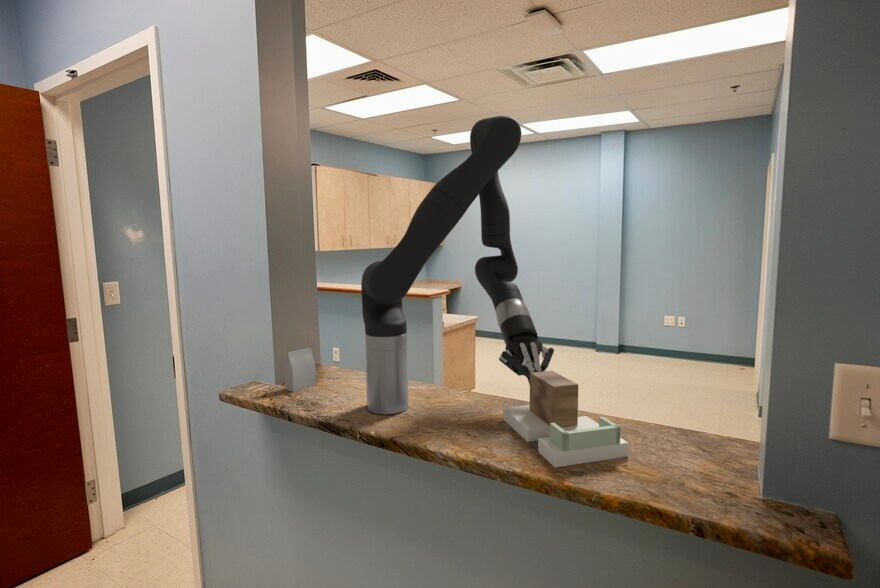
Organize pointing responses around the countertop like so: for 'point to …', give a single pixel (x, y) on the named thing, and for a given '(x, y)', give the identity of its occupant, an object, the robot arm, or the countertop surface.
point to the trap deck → (568, 438)
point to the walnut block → (554, 398)
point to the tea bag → (300, 370)
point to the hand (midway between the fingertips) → (539, 390)
